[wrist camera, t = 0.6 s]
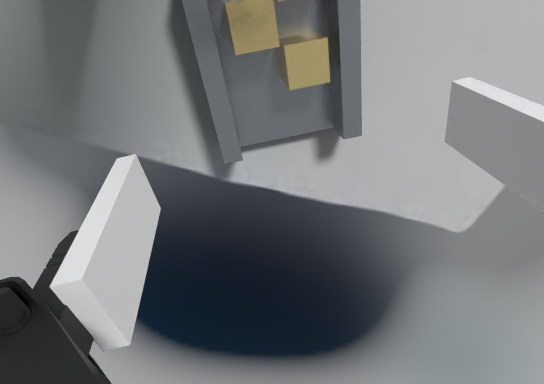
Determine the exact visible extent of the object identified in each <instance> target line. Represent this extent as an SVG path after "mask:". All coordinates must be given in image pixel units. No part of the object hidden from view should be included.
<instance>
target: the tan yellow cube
mask: <svg viewBox="0 0 544 384" xmlns="http://www.w3.org/2000/svg"><path fill="white" fill-rule="evenodd" d="M279 45H280V47H278V51H279V58H280V65H281V73H282V80H283V82H284V83H285V84H286V86H287V87H288V89H289V90H294V89H299V88H304V87H309V86H314V85H319V84H324V83H329V82H330V69H329V53H328V37H326V36H324V35H321V34H319V33H317V32H314V33H309V34H304V35H299V36H293V37H288V38H283V39H279Z"/></svg>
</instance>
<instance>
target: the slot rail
mask: <svg viewBox="0 0 544 384" xmlns="http://www.w3.org/2000/svg"><path fill="white" fill-rule="evenodd" d="M181 1H182V5H183V8H184V12H185V16H186V20H187V24H188V27H189V31H190V35H191V39H192V43H193V46H194V50H195V54H196V58H197V62H198V65H199V69H200V73H201V77H202V81H203V84H204V88H205V92H206V96H207V100H208V103H209V107H210V111H211V115H212V119H213V122H214V126H215V130H216V134H217V138H218V141H219V145H220V149H221V153H222V157H223V160H224V164H227V163H232V162H237V161H242V160H243V158H242V152H241V147H243V146H248V145H252V144H257V143H262V142H267V141H272V140H277V139H282V138H286V137H291V136H296V135H301V134H306V133H311V132H316V131H320V130H325V129H330V128H335V129H336V131H337V132H338V133H339V134H340V135H341V137H342V138H343V139H348V138H353V137H357V136H362V114H361V25H360V0H283V1H275V0H274V8H275V15H276V23H277V30H278V38H279V39H283V38H288V37H293V36H299V35H304V34H309V33H314V32H317V33H319V34H321V35H324V36H326V37H328V53H329V69H330V82H329V83H324V84H319V85H314V86H309V87H304V88H299V89H294V90H289V89H288V87H287V86H286V84H285V83H284V82H283V80H282V73H281V65H280V58H279V51H278V47H276V48H271V49H265V50H260V51H255V52H250V53H245V54H240V55H235V52H234V48H233V43H232V39H231V34H230V29H229V24H228V19H227V14H226V9H225V4H224V2H228V1H233V0H181Z"/></svg>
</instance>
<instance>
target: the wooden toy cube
mask: <svg viewBox="0 0 544 384" xmlns="http://www.w3.org/2000/svg"><path fill="white" fill-rule="evenodd" d="M224 4H225V9H226V14H227V19H228V24H229V29H230V34H231V39H232V43H233V48H234V52H235V55H240V54H245V53H250V52H255V51H260V50H265V49H271V48H276V47H280V45H279V38H278V30H277V23H276V15H275V8H274V0H233V1H228V2H224Z"/></svg>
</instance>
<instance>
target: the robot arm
mask: <svg viewBox="0 0 544 384" xmlns="http://www.w3.org/2000/svg"><path fill="white" fill-rule="evenodd" d="M445 142H446V143H447V144H449V145H450V146H451V147H453V148H454V149H456V150H457V151H458V152H460V153H461V154H462V155H464V156H465V157H467V158H468V159H469V160H471V161H472V162H474V163H475V164H476V165H478V166H479V167H481V168H482V169H483V170H485V171H486V172H488V173H489V174H490V175H492V176H493V177H494V178H496V179H497V180H499V181H500V182H501V183H503V184H504V185H506V186H507V187H508V188H510V189H511V190H513V191H514V192H515V193H517V194H518V195H520V196H521V197H522V198H524V199H525V200H527V201H528V202H529V203H531V204H532V205H534V206H535V207H536V208H538V209H539V210H540V211H542V212H543V213H544V106H542V105H539V104H537V103H534V102H532V101H529V100H527V99H524V98H522V97H519V96H516V95H514V94H511V93H509V92H506V91H504V90H501V89H499V88H496V87H494V86H491V85H489V84H486V83H484V82H481V81H479V80H476V79H474V78H471V77H468V78H464V79H459V80H455V81H452V85H451V94H450V102H449V110H448V119H447V127H446V136H445ZM160 209H161V208H160V206H159V204H158V202H157V199H156V197H155V195H154V193H153V191H152V188H151V186H150V184H149V182H148V180H147V178H146V176H145V173H144V171H143V169H142V167H141V165H140V162H139V160H138V158H137V156H136V154H134V155H130V156H126V157H121V158H117V159H116V161H115V163H114V165H113V167H112V169H111V171H110V173H109V174H108V176H107V178H106V180H105V182H104V184H103V186H102V188H101V190H100V192H99V194H98V195H97V197H96V199H95V201H94V203H93V205H92V207H91V209H90V211H89V213H88V215H87V217H86V218H85V220H84V222H83V224H82V226H81V228H80V230H77V231H73V232H70V234H69V235H67V236H66V237H65V238H64V239H63V240H62V241H61V242H60V243H59V244H58V246H57V248H56V250H55V251H54V253H53V255H52V258H51V259H50V260H49V262H48V264H47V265H46V267H47V268H45V269H44V270H43V272H42V274H41V276H40V278H39V279H38V281H37V283H36V284H35V286H34V288H33V290H32V288H31V287H30V286H29V285H28V284H27V283H26V282H25V280H23V279H21V278H20V277H9V278H6V279H2V280H0V384H111V382H110V381H109V379H108V378H107V377H106V375H105V374H104V373H103V371H102V370H101V369H100V367H99V366H98V364H97V363H96V362H95V360H94V359H93V358H92V357H91V356H90V354H89V352H90V348H91V345H92V342H93V340H94V341H95V342H96V344H97V345H98V346H99V347H100V348H101V349H102V351H103V352H104V351H108V350H112V349H116V348H120V347H124V346H128V345H130V343H131V339H132V334H133V330H134V325H135V321H136V317H137V312H138V308H139V303H140V298H141V294H142V290H143V285H144V281H145V276H146V272H147V267H148V262H149V258H150V254H151V250H152V245H153V241H154V236H155V232H156V227H157V223H158V217H159V214H160Z"/></svg>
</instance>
